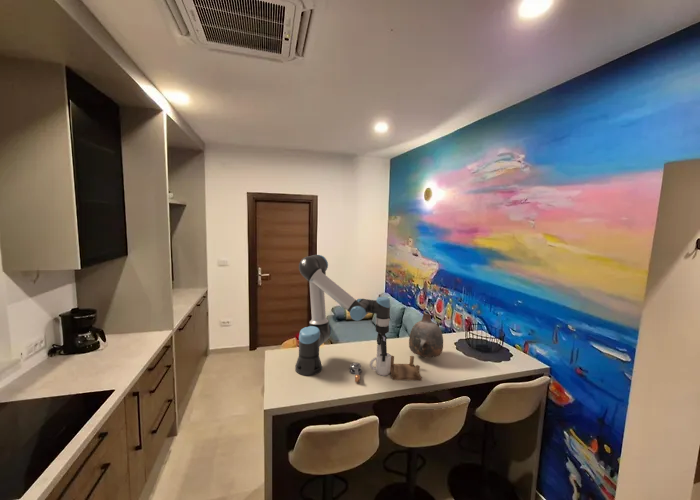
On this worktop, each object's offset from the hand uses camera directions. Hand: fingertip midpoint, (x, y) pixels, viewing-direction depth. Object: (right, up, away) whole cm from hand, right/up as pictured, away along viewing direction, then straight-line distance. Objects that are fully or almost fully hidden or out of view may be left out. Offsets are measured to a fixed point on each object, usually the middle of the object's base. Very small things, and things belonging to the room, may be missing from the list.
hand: (380, 360), depth 175 cm
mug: (-1, -7, +1) cm, 7 cm away
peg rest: (+13, -8, +2) cm, 15 cm away
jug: (+31, -6, +24) cm, 40 cm away
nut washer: (-15, -6, +1) cm, 16 cm away
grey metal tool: (-14, -6, -5) cm, 16 cm away
